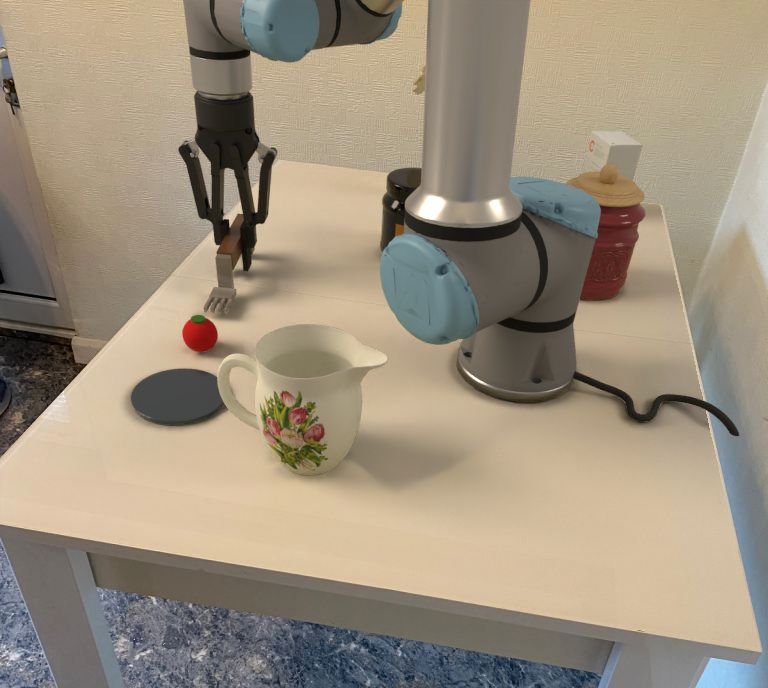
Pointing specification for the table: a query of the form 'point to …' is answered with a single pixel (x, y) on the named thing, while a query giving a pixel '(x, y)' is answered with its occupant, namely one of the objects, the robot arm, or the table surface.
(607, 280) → the kitchen canister
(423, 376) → the table surface
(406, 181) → the supplement container
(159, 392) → the plate
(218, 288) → the fork
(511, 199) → the robot arm
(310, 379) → the pitcher
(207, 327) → the tomato
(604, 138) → the small box
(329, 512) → the table surface
